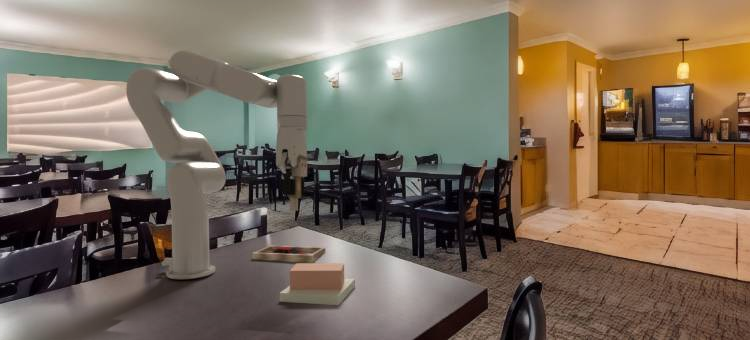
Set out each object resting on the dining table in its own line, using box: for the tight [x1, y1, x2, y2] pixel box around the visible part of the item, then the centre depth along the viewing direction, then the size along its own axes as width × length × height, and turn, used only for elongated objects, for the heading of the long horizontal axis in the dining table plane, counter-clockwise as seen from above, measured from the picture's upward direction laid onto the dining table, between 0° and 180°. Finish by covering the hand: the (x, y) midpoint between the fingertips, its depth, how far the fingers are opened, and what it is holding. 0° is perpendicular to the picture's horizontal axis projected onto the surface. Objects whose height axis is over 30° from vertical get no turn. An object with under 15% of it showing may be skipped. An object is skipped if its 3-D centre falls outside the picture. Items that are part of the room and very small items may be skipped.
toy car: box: [268, 247, 310, 255], centre depth 132 cm, size 6×14×5 cm, turn 63°
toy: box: [286, 155, 309, 212], centre depth 107 cm, size 7×7×15 cm
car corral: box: [252, 245, 327, 263], centre depth 133 cm, size 20×12×4 cm, turn 78°
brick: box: [289, 262, 345, 290], centre depth 99 cm, size 12×7×4 cm, turn 89°
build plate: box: [279, 277, 356, 306], centre depth 99 cm, size 14×14×2 cm
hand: (294, 193), depth 107 cm, fingers closed on toy, 5 cm apart
